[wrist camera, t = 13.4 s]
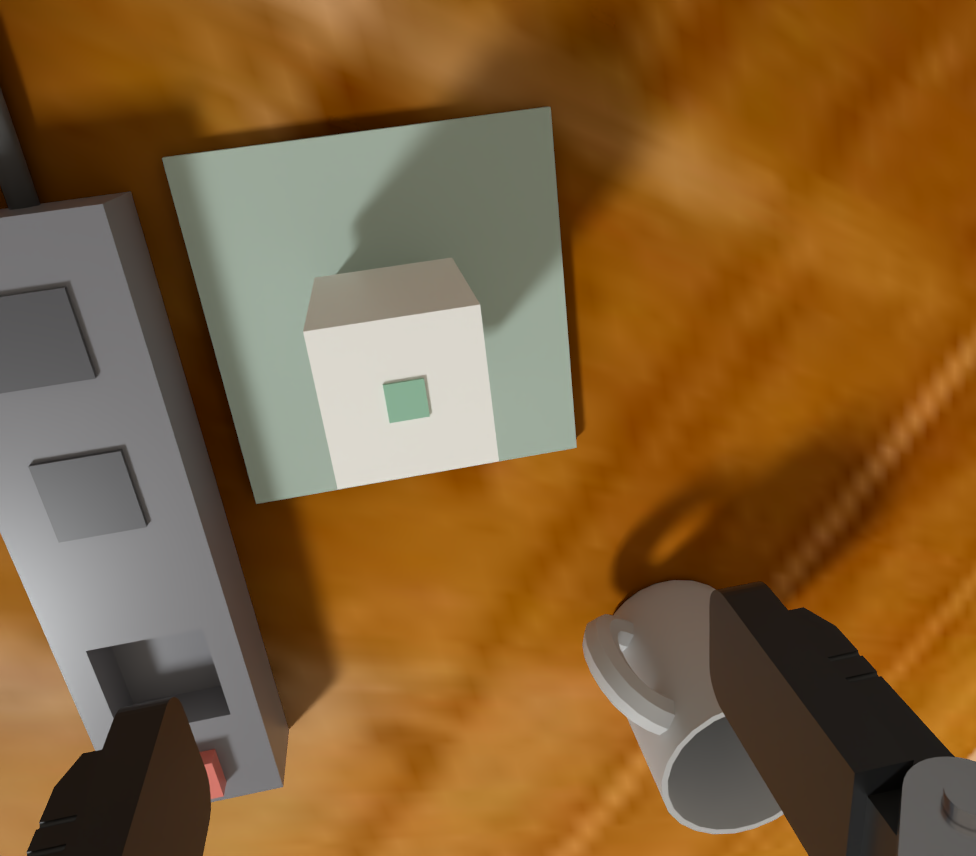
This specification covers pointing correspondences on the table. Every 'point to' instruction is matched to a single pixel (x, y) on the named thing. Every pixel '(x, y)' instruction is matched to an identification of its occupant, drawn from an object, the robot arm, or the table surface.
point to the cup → (678, 707)
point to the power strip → (120, 486)
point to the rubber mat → (376, 244)
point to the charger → (400, 372)
